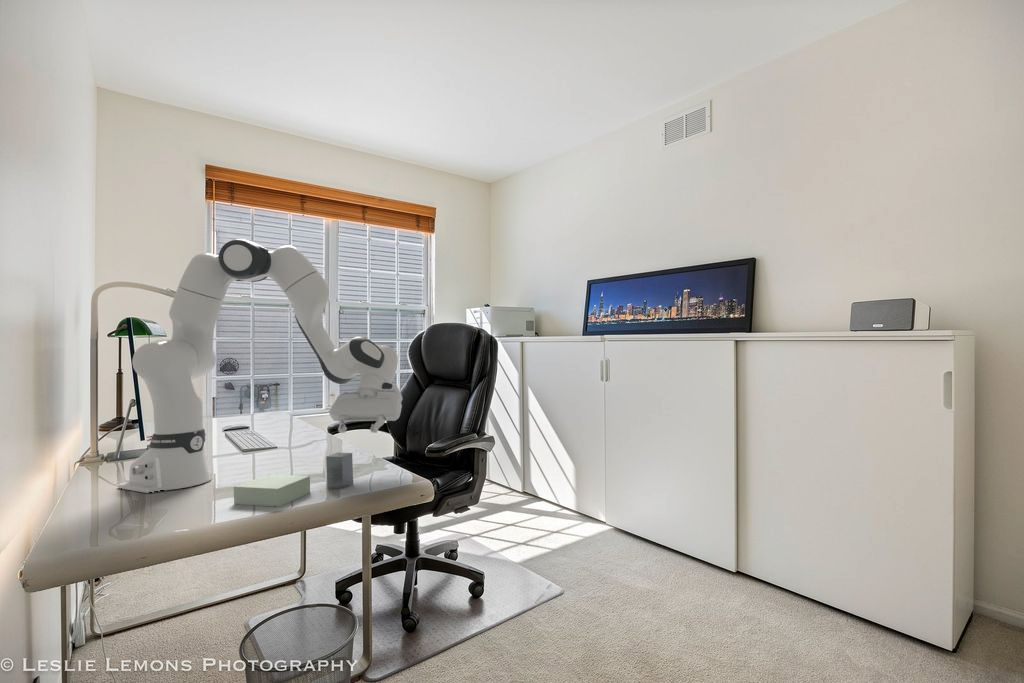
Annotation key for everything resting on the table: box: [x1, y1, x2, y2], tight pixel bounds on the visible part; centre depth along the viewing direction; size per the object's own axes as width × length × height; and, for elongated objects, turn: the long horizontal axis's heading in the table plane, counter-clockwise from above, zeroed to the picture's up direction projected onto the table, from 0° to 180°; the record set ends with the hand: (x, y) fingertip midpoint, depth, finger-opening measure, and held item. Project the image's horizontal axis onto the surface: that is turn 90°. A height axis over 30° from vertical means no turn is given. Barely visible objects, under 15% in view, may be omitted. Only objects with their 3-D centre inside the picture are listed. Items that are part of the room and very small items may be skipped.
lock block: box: [325, 452, 354, 490], centre depth 128 cm, size 4×4×8 cm
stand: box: [233, 474, 311, 508], centre depth 119 cm, size 12×11×4 cm
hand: (357, 431), depth 138 cm, fingers open, 8 cm apart
